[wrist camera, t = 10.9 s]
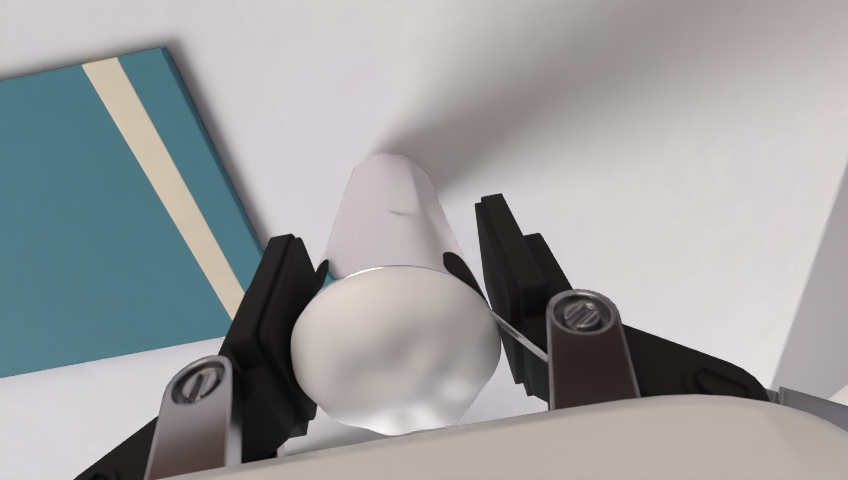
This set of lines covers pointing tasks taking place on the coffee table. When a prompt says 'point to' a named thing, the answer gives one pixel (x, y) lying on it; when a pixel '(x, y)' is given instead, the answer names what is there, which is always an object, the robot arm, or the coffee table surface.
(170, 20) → the coffee table surface
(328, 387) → the milkshake
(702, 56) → the coffee table surface
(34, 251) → the towel
